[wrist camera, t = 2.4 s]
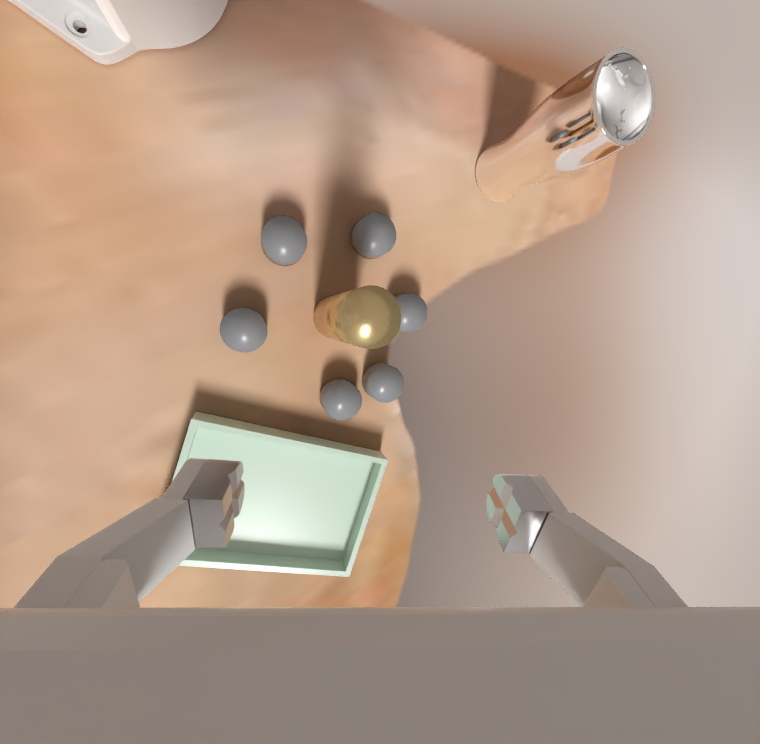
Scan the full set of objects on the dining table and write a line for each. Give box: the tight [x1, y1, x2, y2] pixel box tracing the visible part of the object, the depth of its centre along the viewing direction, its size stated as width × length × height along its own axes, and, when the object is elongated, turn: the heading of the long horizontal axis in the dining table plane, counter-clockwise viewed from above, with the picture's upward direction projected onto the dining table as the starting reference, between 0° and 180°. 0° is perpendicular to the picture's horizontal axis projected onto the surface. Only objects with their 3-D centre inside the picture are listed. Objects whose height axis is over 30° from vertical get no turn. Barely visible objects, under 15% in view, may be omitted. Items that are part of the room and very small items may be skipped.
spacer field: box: [220, 212, 427, 420], centre depth 35 cm, size 19×21×2 cm
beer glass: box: [475, 47, 655, 202], centre depth 33 cm, size 7×7×15 cm
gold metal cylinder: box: [314, 285, 401, 349], centre depth 30 cm, size 4×4×13 cm
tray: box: [172, 411, 388, 577], centre depth 36 cm, size 20×14×3 cm
